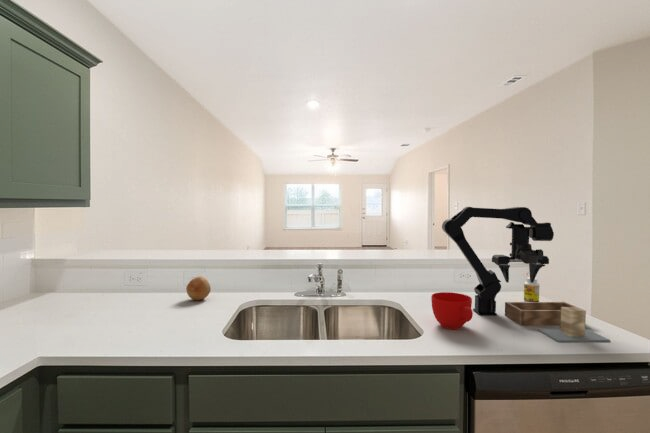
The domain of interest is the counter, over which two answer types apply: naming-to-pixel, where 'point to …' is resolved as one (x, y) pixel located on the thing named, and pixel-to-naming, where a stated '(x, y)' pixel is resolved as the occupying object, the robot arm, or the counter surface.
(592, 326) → the counter surface
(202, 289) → the onion
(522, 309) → the walnut crate
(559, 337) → the slate mat
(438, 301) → the ceramic cup
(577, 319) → the maple block
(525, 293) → the supplement bottle
